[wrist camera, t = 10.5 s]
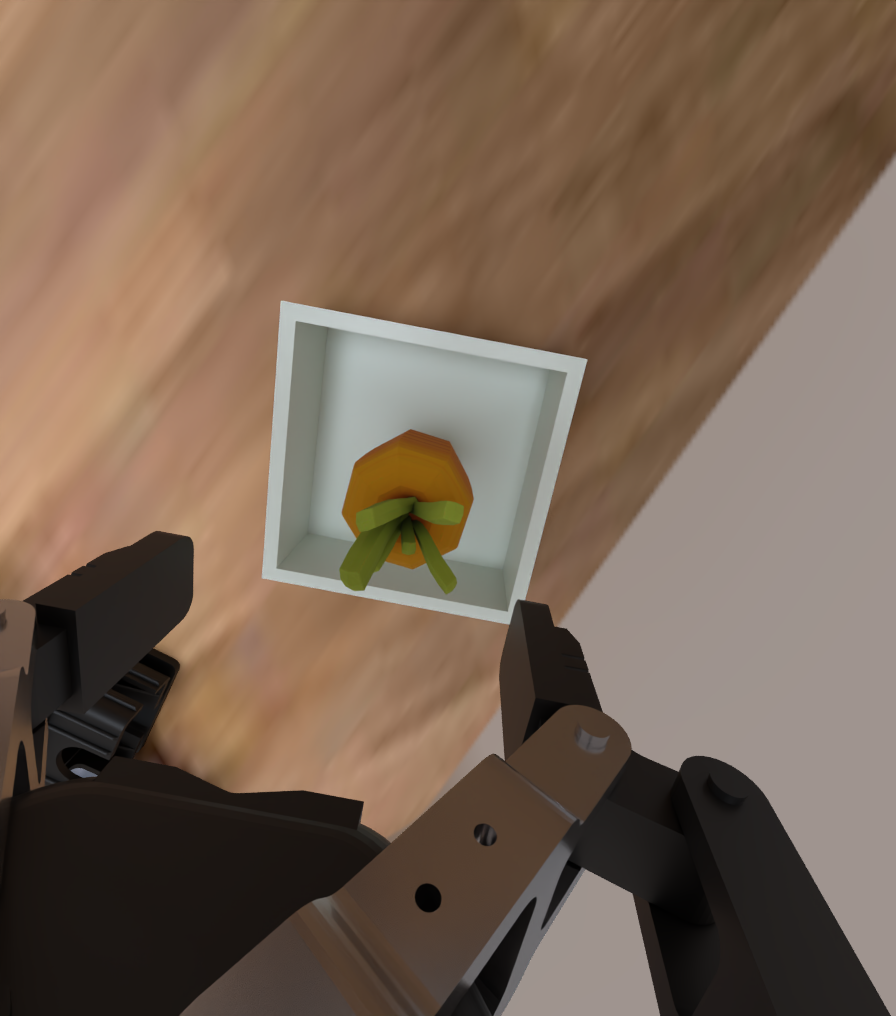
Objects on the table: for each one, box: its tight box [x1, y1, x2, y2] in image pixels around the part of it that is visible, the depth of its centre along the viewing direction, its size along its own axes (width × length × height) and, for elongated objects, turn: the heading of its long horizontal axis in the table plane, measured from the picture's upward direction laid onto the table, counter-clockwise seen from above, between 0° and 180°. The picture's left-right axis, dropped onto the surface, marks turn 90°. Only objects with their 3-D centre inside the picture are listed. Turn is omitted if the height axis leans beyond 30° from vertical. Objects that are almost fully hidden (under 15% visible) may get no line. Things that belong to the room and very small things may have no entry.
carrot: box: [339, 429, 474, 594], centre depth 21 cm, size 5×5×15 cm
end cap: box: [45, 649, 180, 786], centre depth 33 cm, size 10×7×7 cm
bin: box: [262, 301, 587, 625], centre depth 26 cm, size 13×13×6 cm
